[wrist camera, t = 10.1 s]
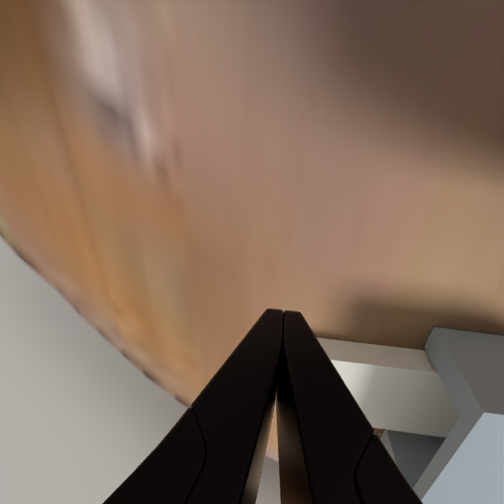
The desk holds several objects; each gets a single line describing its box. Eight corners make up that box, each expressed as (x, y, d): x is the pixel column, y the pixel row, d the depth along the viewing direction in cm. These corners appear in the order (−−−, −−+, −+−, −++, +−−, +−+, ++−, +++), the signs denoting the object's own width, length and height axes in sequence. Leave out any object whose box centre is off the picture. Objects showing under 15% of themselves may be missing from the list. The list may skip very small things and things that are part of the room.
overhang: (552, 341, 21) (648, 435, 15) (468, 453, 28) (513, 546, 22) (433, 326, 22) (484, 412, 16) (379, 439, 28) (401, 527, 23)
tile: (491, 354, 23) (512, 382, 21) (456, 411, 26) (471, 441, 24) (304, 331, 24) (305, 356, 22) (293, 390, 27) (294, 416, 25)
